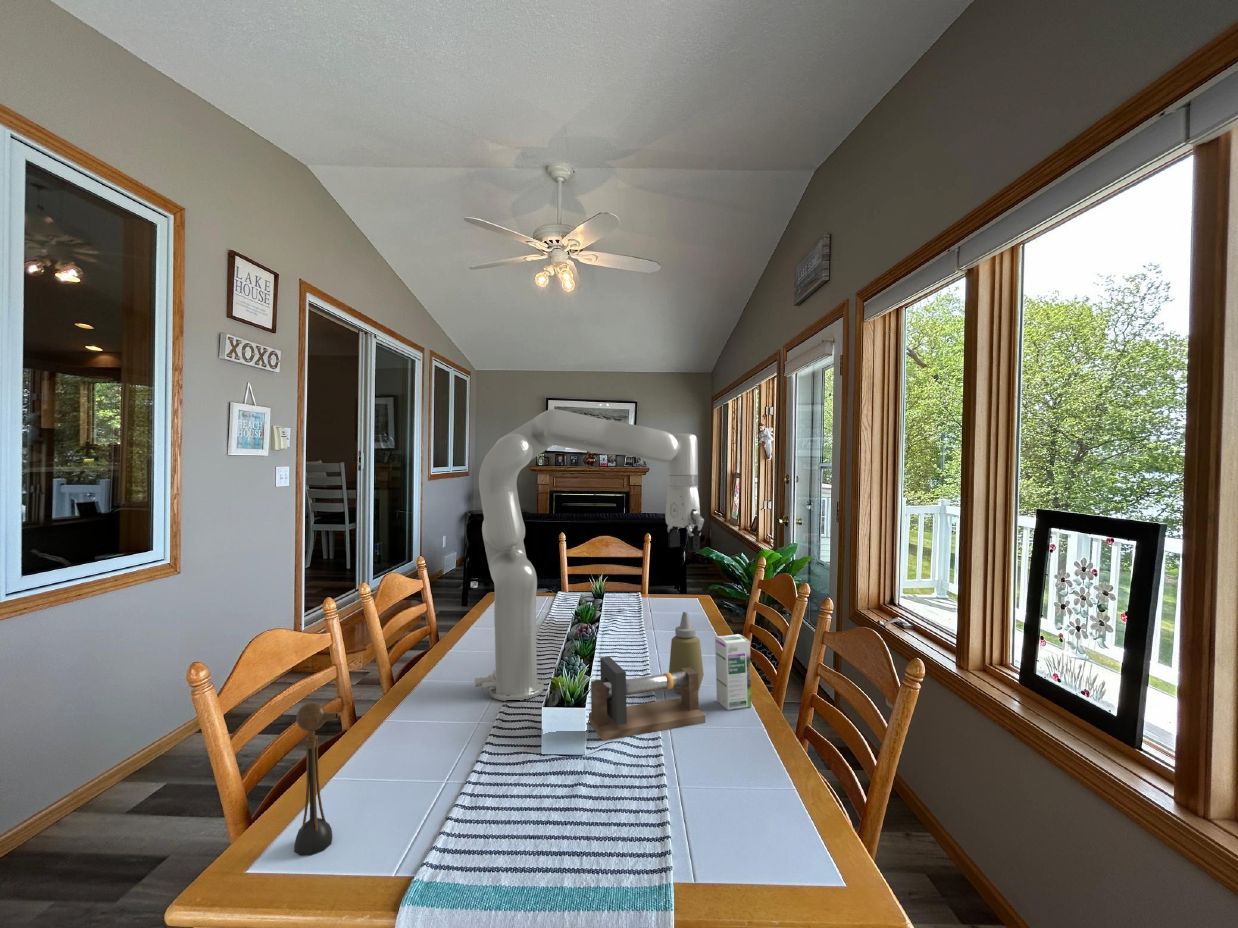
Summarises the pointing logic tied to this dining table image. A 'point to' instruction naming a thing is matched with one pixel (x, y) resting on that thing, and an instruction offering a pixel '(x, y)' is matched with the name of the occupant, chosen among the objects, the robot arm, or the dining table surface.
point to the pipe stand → (648, 705)
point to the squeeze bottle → (686, 650)
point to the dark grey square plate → (615, 689)
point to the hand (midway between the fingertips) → (683, 549)
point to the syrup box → (733, 671)
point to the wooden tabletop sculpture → (313, 783)
